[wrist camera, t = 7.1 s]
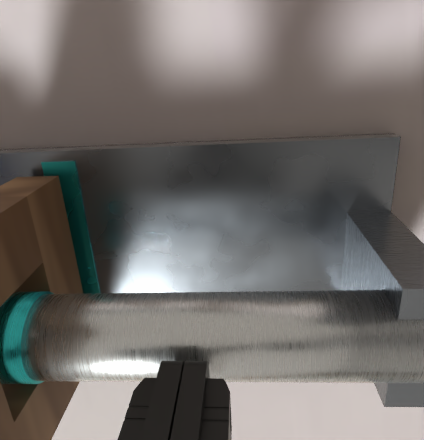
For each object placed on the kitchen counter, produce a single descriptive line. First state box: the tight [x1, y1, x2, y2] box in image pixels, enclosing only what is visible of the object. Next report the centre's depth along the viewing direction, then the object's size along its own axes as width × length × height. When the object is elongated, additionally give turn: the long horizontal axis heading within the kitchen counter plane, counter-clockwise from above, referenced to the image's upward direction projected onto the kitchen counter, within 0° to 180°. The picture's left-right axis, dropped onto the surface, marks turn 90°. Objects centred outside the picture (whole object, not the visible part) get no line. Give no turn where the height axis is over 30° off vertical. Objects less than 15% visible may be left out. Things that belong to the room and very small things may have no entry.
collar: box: [0, 176, 83, 440], centre depth 15 cm, size 2×10×10 cm, turn 3°
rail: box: [0, 134, 424, 407], centre depth 17 cm, size 22×12×8 cm, turn 93°
